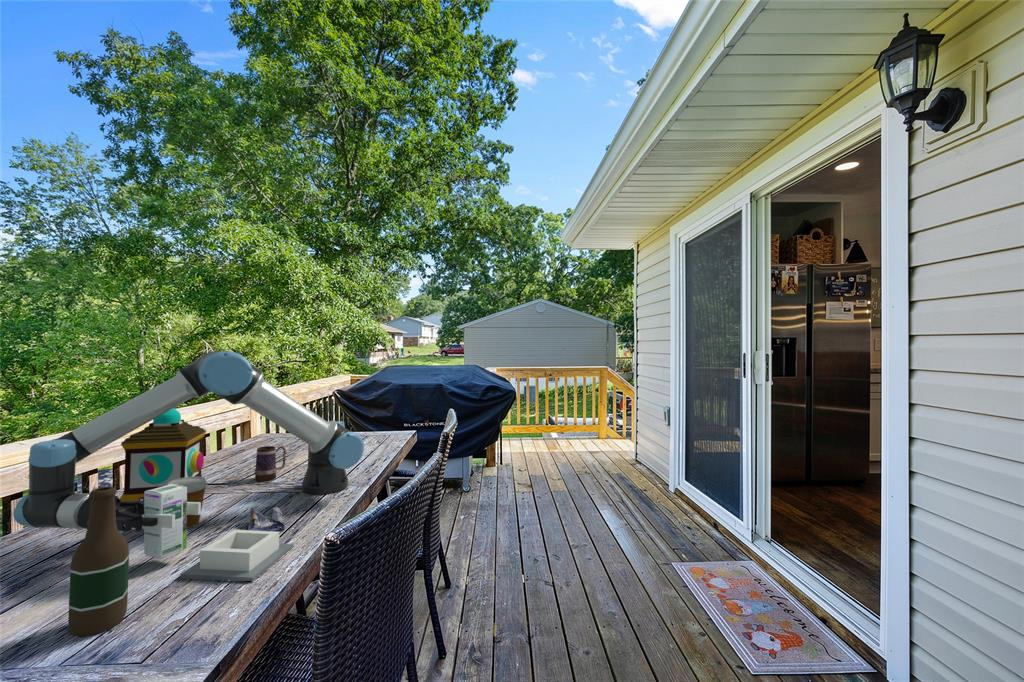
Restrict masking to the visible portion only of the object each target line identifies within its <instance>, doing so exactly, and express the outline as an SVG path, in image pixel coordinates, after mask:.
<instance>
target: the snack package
mask: <svg viewBox="0 0 1024 682" xmlns="http://www.w3.org/2000/svg"><path fill="white" fill-rule="evenodd" d="M269 507H271V506H270V505H269ZM266 508H267V507H265V509H266ZM271 511H272V513H271V517H270V516H268V515H263V514H262V513H260V512H258V511H257V510H256V509H255V508H253V507H250V520H249V522H248V527H247V529H248V530H253V531H274V532H277V531H278V532H282V531H281V530H284V531H285V529H286V528H285V524H284V523H282V518H283V513H282V512H281V508H279V507H278V506H276V505H273V506H272V507H271ZM267 518H271V519H267ZM267 520H268V521H269V522H270V523H271V524H272V522H273V524H272V525H271V524H270V525H271V526H270V527H269V528H272V529H267V528H266V529H265V528H263V527H262V528H263V529H262V528H261V525H262V524H263V523H264V524H266V523H267V522H268V521H267ZM266 521H267V522H266ZM265 522H266V523H265ZM264 524H263V525H264ZM263 525H262V526H263ZM278 526H279V527H281V528H280V529H279V528H274V527H278Z"/></svg>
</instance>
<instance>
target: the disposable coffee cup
mask: <svg viewBox="0 0 1024 682" xmlns="http://www.w3.org/2000/svg"><path fill="white" fill-rule="evenodd" d="M169 484H179V485H183V486H186V487H187V502H201V510H202V507H203V503H204V502H203V501H204V497H205V491H206V487H207V485H208V482H207V480H206V478H205V477H203V476H202V477H186V478H180V479H175V480H172V481H170V482H168V483H167V485H169ZM200 518H201V514H199V515H187V529H189V528H193V527H195V526H197V525H199V524H200V520H201V519H200Z"/></svg>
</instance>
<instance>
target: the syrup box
mask: <svg viewBox="0 0 1024 682" xmlns="http://www.w3.org/2000/svg"><path fill="white" fill-rule="evenodd" d="M147 513H151V514H175V527H173V528H156V527H144V526H143V528H144V530H143V531H144V532H143V533H144V536H143V537H144V539H143V540H144V541H143V544H144V545H143V550H144V551H143V553H144V555H145V556H148V557H150V558H151V557H152V558H155V559H160V560H162V559H164V558H165V557H167V556H168V557H169V556H170V555H172V554H175V553H177V552H181V551H182V550H185V549H187V545H188V543H187V539H188V534H187V533H188V530H187V529H188V528H187V487H186V486H183V485H179V484H169V485H167V486H163V487H159V488H155V489H152V490H148V491H145V492H144V514H147Z"/></svg>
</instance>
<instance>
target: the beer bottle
mask: <svg viewBox="0 0 1024 682" xmlns="http://www.w3.org/2000/svg"><path fill="white" fill-rule="evenodd" d="M117 493H118V490H117V487H115V486H102V487H97V488H93V489H92V490H91V491H90V492H89V493H88V494H89V498H91V503H90V511H89V520H88V528H87V529H86V533H85V536H84V539H83V540H82V541H81V542H80V543H79V545H78V546H77V547H76V549H75V551H74V553H73V556H72V557H71V563H70V570H69V590H68V591H69V593H68V594H69V595H68V596H69V597H68V618H67V619H68V620H67V622H68V633H69V634H70V635H74V636H76V637H79V638H84V637H88V636H94V635H98V634H102V633H103V634H104V633H105V632H106V631H108V630H111V629H112V628H114V627H117V626H119V625H120V624H121V622H122V621H123V620H124V618H125V616H126V614H127V612H128V610H127V609H128V599H129V597H128V596H129V594H128V593H129V569H130V568H129V567H130V566H129V564H130V547H129V544H128V541H127V539H126V537H125V536H124V535H123V534H122V533H121V531H118V529H117V524H116V510H115V496H116V494H117Z"/></svg>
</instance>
